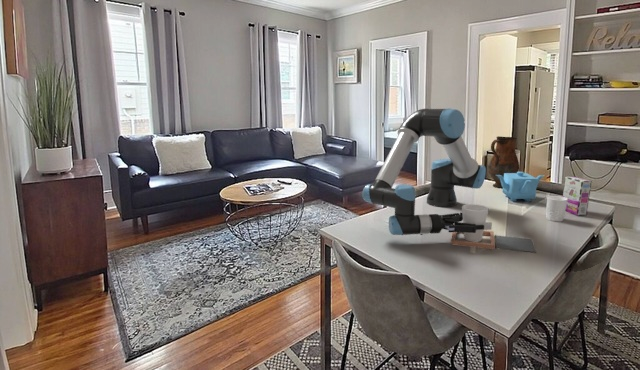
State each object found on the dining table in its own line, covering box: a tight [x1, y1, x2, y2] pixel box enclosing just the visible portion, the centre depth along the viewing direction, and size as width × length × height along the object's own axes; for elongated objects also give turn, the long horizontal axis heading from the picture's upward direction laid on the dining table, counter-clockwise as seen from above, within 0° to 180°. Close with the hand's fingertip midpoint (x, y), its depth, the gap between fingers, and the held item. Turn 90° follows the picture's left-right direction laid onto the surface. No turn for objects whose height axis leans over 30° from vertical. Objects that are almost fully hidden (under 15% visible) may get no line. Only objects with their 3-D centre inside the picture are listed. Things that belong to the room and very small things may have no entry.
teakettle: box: [496, 171, 546, 202], centre depth 205 cm, size 19×19×15 cm
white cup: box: [545, 195, 568, 222], centre depth 172 cm, size 8×8×10 cm
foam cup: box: [461, 203, 489, 243], centre depth 151 cm, size 10×9×13 cm
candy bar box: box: [562, 175, 592, 217], centre depth 180 cm, size 11×5×16 cm, turn 5°
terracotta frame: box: [450, 230, 496, 250], centre depth 153 cm, size 15×15×2 cm
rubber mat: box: [494, 234, 537, 254], centre depth 147 cm, size 13×13×1 cm
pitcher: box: [487, 136, 520, 189], centre depth 229 cm, size 17×21×30 cm
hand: (485, 221), depth 151 cm, fingers closed on foam cup, 9 cm apart
